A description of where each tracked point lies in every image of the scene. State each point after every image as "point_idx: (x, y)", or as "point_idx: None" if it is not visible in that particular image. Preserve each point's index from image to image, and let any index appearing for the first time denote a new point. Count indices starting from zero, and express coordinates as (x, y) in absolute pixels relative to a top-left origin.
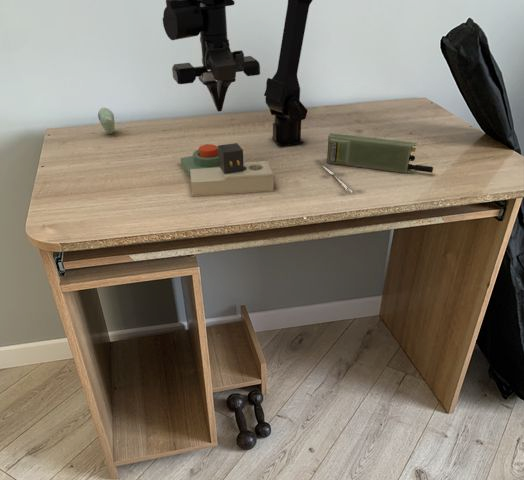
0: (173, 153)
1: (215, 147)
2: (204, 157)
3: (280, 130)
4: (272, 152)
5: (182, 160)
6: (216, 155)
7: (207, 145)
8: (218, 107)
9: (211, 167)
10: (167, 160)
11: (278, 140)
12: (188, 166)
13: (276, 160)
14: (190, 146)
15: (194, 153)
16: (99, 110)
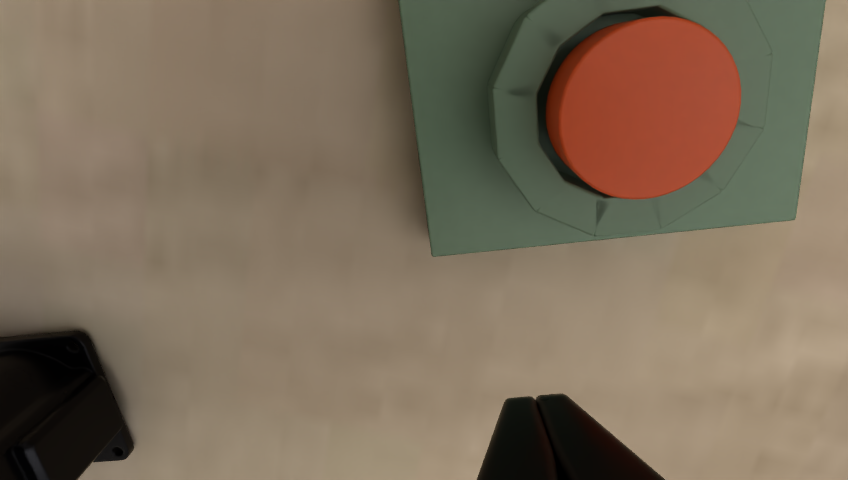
0: (750, 388)
1: (581, 100)
2: (692, 19)
3: (21, 417)
4: (141, 262)
5: (802, 163)
6: (572, 53)
7: (639, 170)
8: (576, 424)
9: None
10: (825, 295)
11: (83, 379)
12: (801, 27)
13: (116, 124)
14: None
15: (746, 138)
16: None
